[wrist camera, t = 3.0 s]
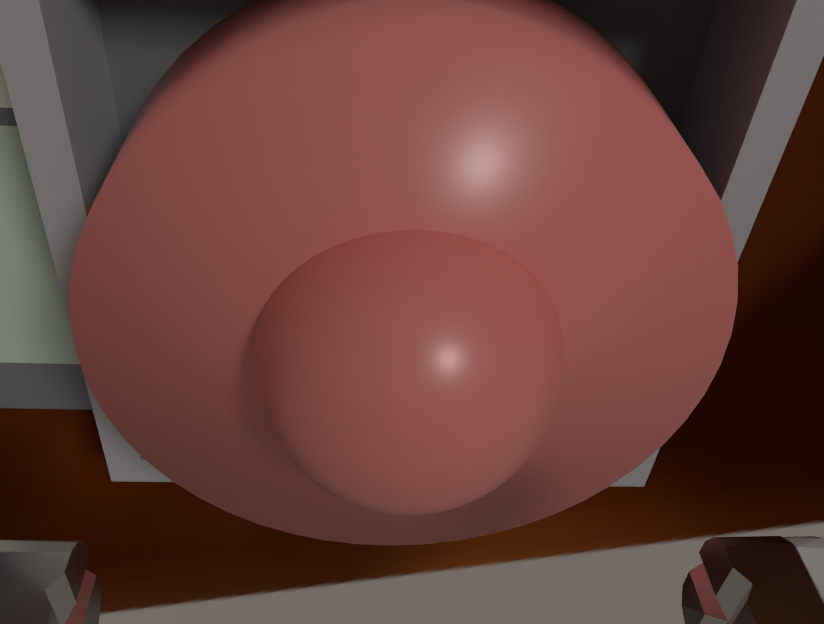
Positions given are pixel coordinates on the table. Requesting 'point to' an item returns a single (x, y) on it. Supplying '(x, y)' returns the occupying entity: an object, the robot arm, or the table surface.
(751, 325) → the table surface
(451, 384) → the dome
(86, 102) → the game board
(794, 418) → the table surface
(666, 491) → the table surface
